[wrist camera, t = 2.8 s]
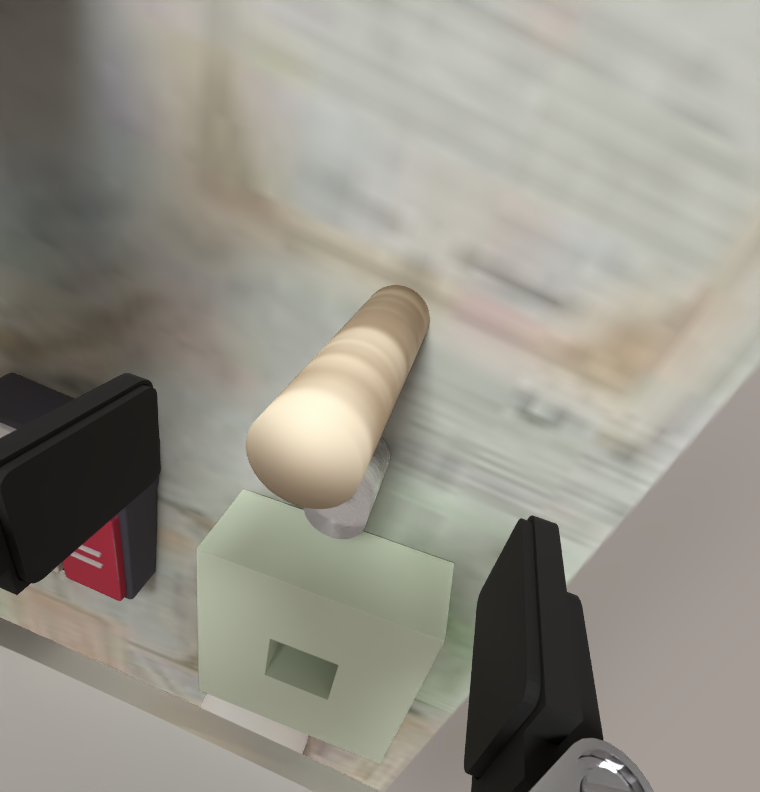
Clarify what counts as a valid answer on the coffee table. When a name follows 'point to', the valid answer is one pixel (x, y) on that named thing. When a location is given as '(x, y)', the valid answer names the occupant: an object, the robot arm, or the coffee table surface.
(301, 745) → the teardrop
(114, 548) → the calculator
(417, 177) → the coffee table surface
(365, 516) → the short pin
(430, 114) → the coffee table surface
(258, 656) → the peg block
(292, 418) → the long pin
